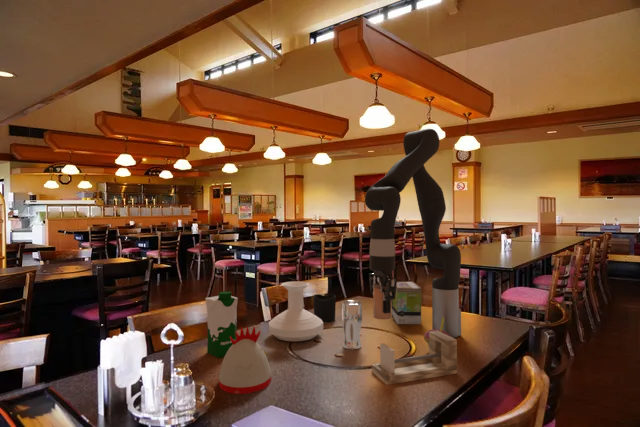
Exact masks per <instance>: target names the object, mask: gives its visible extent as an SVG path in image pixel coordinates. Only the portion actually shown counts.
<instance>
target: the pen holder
mask: <svg viewBox="0 0 640 427" xmlns="http://www.w3.org/2000/svg"><path fill="white" fill-rule="evenodd" d="M336 299H337V296H336V295H335V294H329V295H323V294H314V295H313V298H312V300H313V301H312V302H313V314H314V315H316V316H317V317H318V318H320V319H321V320H322V321H323V324H324V323H326V322H327V323H332V322H335V320H336V302H337V300H336ZM327 323H326V324H327Z"/></svg>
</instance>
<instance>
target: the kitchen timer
mask: <svg viewBox="0 0 640 427" xmlns="http://www.w3.org/2000/svg"><path fill="white" fill-rule="evenodd" d="M235 334H236V338H237V339H236V340H233V339H232V338H231V337H230V339H231V342H232V343H233V345H232V346H231V347H230V348H229V350H228V351H227V353H226V355H225V356H224V357H223V360H222V362H221V366H220V369H219V373H218V374H219V375H218V387H219V389H220V390H222V391H224V392H226V393H229V394H238V395H245V394H251V393H256V392H259V391H262V390H264V389H265V387H266V388H267V387H269V385H270V384H271V382H272V371H271V366H270V364H269V360H268V357H267V355H268V353H267V351H265V350H264V349H263V348H262V346H261V345H260V344H259V343H258V342H257V341H258V339H259V337H260V335H261V330H259V331H258V332H257V333H256V327H255V326H253V328H252V331H251V333H250V331H249V327H248V326H246V330H245V332H244V329H243V326H241V327H240V334H239V333H238V331H237V332H235ZM258 390H259V391H258ZM255 391H256V392H255Z"/></svg>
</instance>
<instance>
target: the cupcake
mask: <svg viewBox="0 0 640 427" xmlns="http://www.w3.org/2000/svg"><path fill="white" fill-rule="evenodd" d="M443 323H444V316H443V318H442V322H441V328H440V329H434V330H432V329H429V330H428V331H426V332H425V333H424V336H423V339H424V341H425V342H426V343H427V344H428V346H429V332H431V331H439V332H442V333H444V334H446V335H448V336H450V334H448V333H447V332H446V331H444V330H442V329H443ZM450 337H451V336H450Z"/></svg>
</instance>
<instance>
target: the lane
mask: <svg viewBox="0 0 640 427" xmlns="http://www.w3.org/2000/svg"><path fill="white" fill-rule="evenodd" d="M457 341H458V340H457V339H456V338H452V337H450V336H448V335H446V334H444V333H442V332H439V331H431V332H429V345H428V348H429V349H428V350H429V353H428V355H430V354H437V353H441V357H435V358H428V359H421V360H414V361H408V362H401V363H395V373H393V374H387V373H386V372H384V371H383V370H382V369H381V368H380V362H378V363H372V364H371V373H372V374H373V375H375V376H376V377H377V378H378V379H379V380H380V381H382V382H383V383H384V384H385V386H388V385H394V384H395V385H396V384H400V383H406V382H413V381H419V380H424V379H431V378H438V377H442V376H450V375H451V376H452V375H455V374H457V373H458V351H457V350H458V346H457V345H458V342H457Z"/></svg>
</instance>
